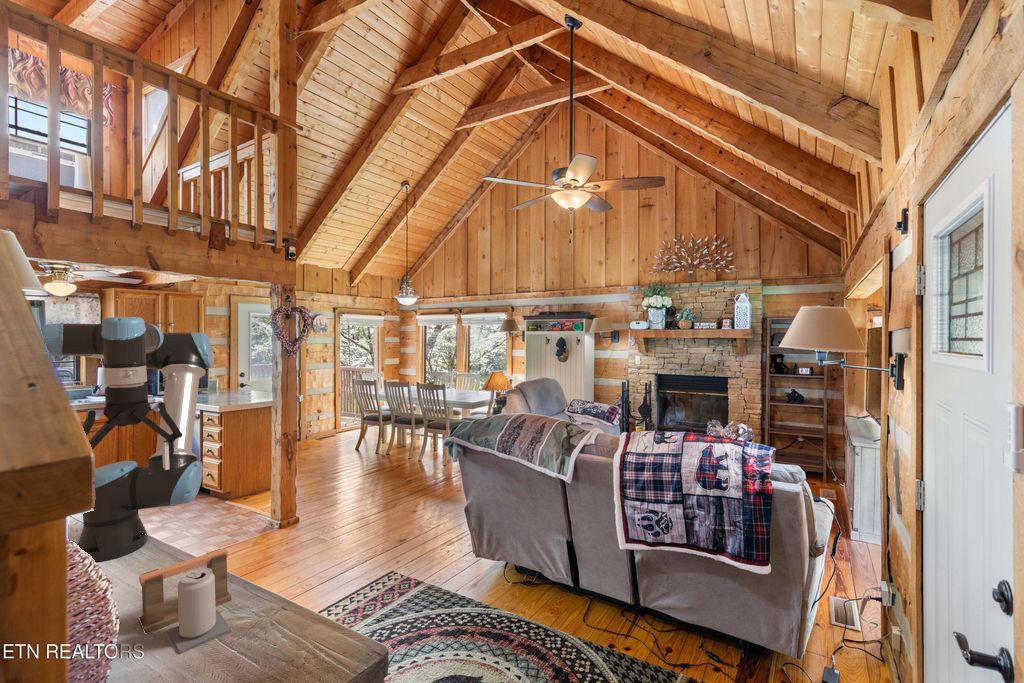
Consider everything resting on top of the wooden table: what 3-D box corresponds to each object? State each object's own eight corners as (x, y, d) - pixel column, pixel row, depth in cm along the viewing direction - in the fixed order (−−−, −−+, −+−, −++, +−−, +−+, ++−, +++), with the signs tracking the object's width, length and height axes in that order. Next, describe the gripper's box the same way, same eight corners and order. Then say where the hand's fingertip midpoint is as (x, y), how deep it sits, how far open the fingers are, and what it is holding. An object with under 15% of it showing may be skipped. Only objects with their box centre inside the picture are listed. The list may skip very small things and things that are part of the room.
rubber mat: (168, 631, 98) (168, 629, 98) (217, 611, 105) (217, 609, 105) (179, 653, 92) (179, 651, 92) (231, 631, 99) (231, 628, 98)
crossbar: (139, 582, 99) (139, 575, 99) (224, 554, 111) (224, 548, 111) (141, 586, 98) (141, 579, 98) (227, 557, 110) (227, 551, 109)
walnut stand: (139, 621, 101) (137, 573, 100) (223, 589, 113) (222, 546, 112) (145, 634, 97) (143, 584, 96) (231, 600, 109) (230, 555, 108)
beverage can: (198, 642, 94) (196, 585, 93) (171, 638, 95) (169, 581, 95) (223, 622, 101) (221, 568, 100) (197, 617, 102) (196, 564, 101)
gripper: (51, 394, 95) (57, 495, 97) (195, 380, 114) (198, 466, 116) (48, 389, 100) (53, 485, 102) (186, 377, 119) (189, 459, 120)
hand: (130, 475), depth 109 cm, fingers open, 13 cm apart
